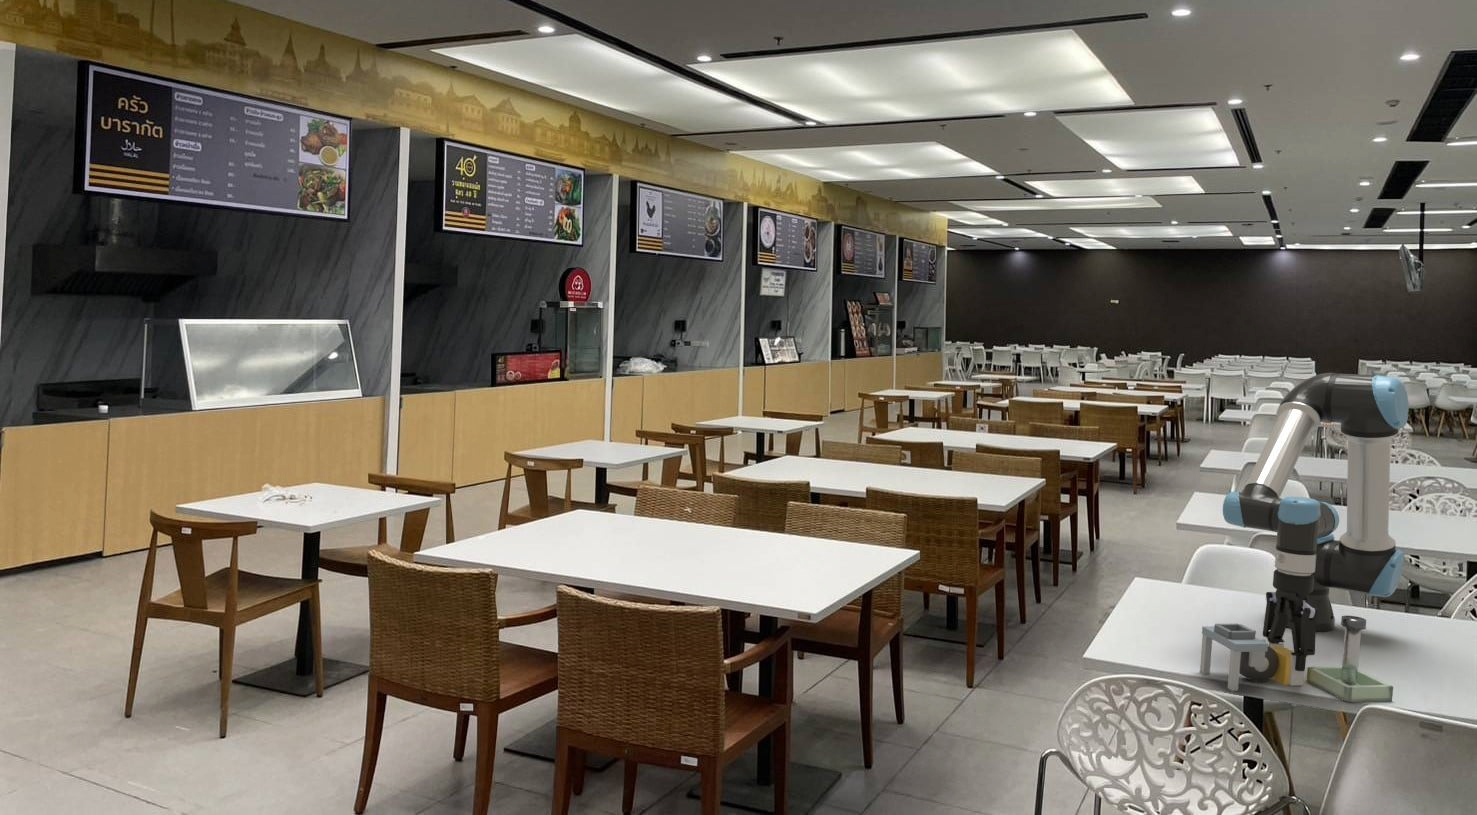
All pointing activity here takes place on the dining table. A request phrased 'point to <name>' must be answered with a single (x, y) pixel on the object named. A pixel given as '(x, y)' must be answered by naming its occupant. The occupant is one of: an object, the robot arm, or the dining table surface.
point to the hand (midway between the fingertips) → (1284, 678)
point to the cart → (1240, 653)
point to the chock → (1283, 665)
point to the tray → (1361, 692)
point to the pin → (1351, 648)
